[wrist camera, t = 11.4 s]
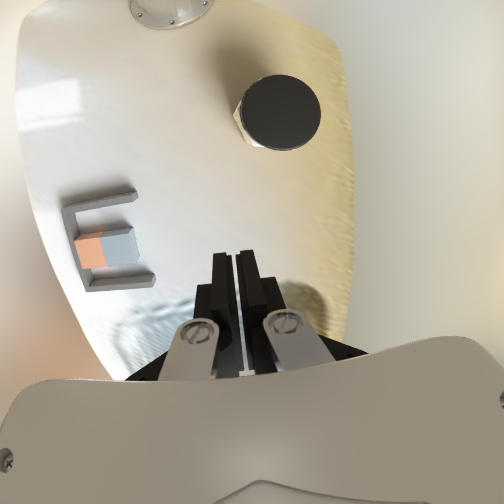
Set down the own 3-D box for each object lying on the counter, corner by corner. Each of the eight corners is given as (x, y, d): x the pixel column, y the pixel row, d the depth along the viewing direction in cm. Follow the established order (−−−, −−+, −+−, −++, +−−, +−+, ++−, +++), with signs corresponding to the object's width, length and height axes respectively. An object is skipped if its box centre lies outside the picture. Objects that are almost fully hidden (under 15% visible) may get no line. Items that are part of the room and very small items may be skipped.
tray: (67, 204, 36) (60, 209, 34) (136, 191, 37) (131, 194, 35) (91, 284, 43) (86, 292, 41) (155, 279, 44) (152, 287, 41)
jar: (259, 78, 32) (274, 56, 22) (305, 111, 35) (338, 104, 24) (221, 126, 35) (221, 123, 24) (269, 158, 38) (288, 169, 27)
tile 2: (81, 234, 39) (73, 241, 36) (106, 230, 39) (99, 237, 37) (89, 260, 41) (82, 269, 39) (113, 258, 42) (107, 266, 39)
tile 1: (106, 230, 40) (99, 237, 37) (133, 226, 40) (127, 233, 37) (113, 258, 42) (107, 266, 39) (140, 255, 42) (135, 264, 39)
